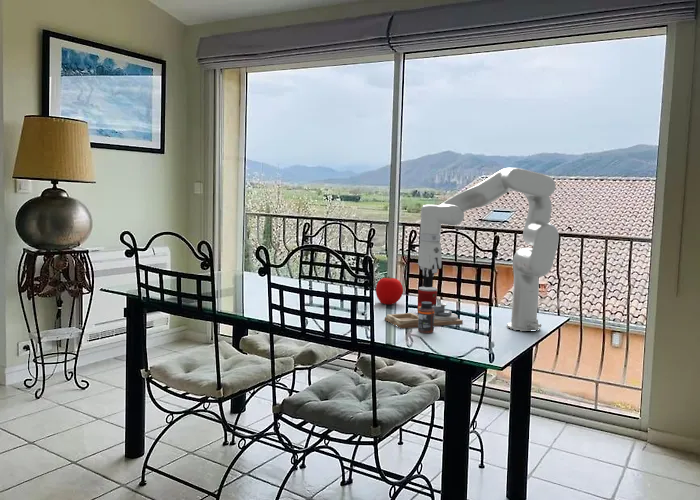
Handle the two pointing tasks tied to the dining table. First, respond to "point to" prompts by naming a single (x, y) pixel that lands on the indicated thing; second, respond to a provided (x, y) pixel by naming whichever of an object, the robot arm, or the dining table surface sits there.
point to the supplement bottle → (426, 318)
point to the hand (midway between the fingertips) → (427, 286)
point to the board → (412, 320)
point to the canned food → (427, 295)
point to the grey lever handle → (440, 310)
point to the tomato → (389, 290)
